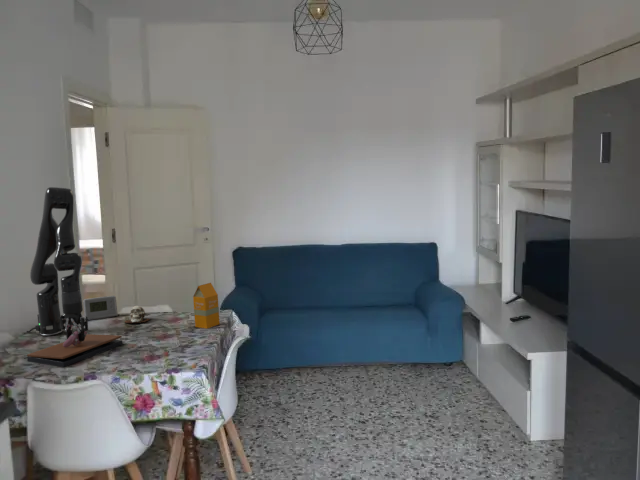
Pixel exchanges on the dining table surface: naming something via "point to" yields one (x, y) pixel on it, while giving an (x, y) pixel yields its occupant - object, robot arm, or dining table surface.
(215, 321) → the orange juice
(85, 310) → the digital clock
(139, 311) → the skull
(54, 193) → the robot arm
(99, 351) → the black flat slab
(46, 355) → the tablet cover
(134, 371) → the dining table surface
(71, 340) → the video game controller
